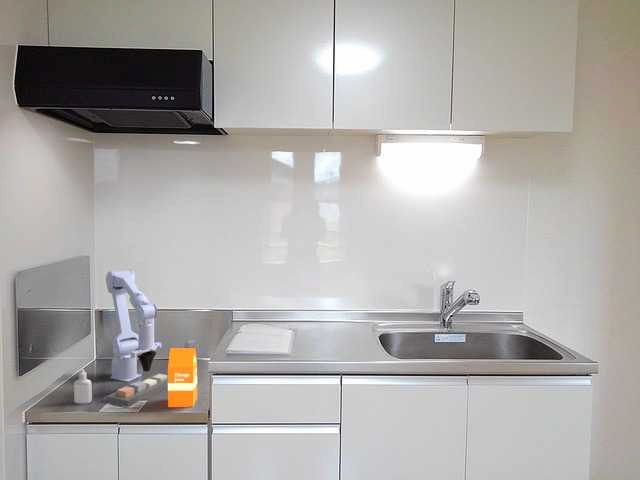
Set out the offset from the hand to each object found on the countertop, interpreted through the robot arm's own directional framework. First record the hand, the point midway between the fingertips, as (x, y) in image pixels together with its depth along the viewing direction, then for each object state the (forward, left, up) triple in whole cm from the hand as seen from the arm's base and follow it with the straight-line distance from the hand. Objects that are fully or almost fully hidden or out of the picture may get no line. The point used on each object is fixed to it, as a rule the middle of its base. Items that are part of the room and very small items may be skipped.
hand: (146, 370), depth 183 cm
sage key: (0, +8, -7) cm, 10 cm away
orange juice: (+20, -3, -8) cm, 22 cm away
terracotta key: (0, -10, -6) cm, 12 cm away
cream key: (0, +2, -7) cm, 7 cm away
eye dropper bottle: (-12, -18, -8) cm, 23 cm away
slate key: (0, -4, -6) cm, 7 cm away
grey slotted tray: (0, -1, -8) cm, 8 cm away
